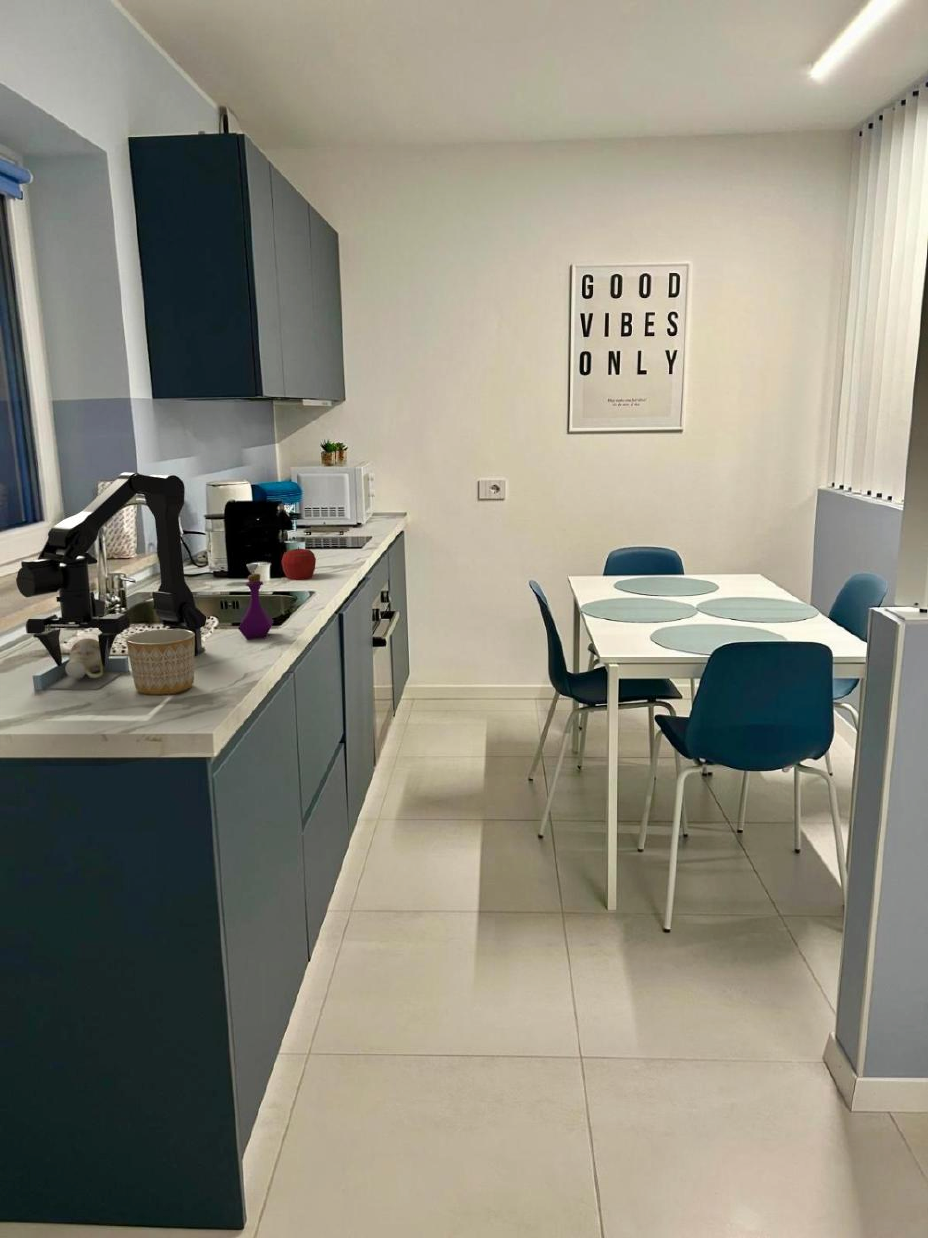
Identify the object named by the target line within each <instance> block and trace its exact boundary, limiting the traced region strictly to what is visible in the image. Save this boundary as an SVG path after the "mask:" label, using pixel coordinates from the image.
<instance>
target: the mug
mask: <svg viewBox="0 0 928 1238" xmlns="http://www.w3.org/2000/svg"><path fill="white" fill-rule="evenodd" d="M68 657H69V662H68V663H67V664H66V667H65V670H66V673H67V675H68V676H69V677H71V678H73V679H80V678H82V677H83V676H84V675H85V674H87V675H88V676H89V677H90V678H97V677H100V676H102V675H103V664H102V661H101V655H100V647H99V640H96V639H94V638H81V639H79V640H77V641H76V642H75V643H74V644H73V645H72V646H71V648H70V652H69V656H68ZM98 670H100V673H98V674H93V673H94V672H96V671H98Z"/></svg>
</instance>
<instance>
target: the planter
mask: <svg viewBox="0 0 928 1238" xmlns="http://www.w3.org/2000/svg"><path fill="white" fill-rule="evenodd" d="M125 640H126V646H127V647H126V648H127V652H128V656H129V657H128V659H129V662H130V668H131V673H132V677H133V679H132V680H133V683H134V684H133V685H134V687H135V689H136V690H137V691H138V692H139V693H140V694H144V695H150V696H162V695H163V696H164V695H170V694H171V695H172V694H178V693H181V692H184V691H186V690H188V689H190V688H191V687H192V686H193V684H194V682H195V656H194V648H195V634H194V632H192V631H189V630H183V629H168V628H165V629H164V628H163V629H162V628H161V629H153V630H146V631H145V630H144V631H141V632H136V633H133V634H131V635H129V636H127V637H126V639H125Z"/></svg>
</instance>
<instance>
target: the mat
mask: <svg viewBox="0 0 928 1238" xmlns="http://www.w3.org/2000/svg"><path fill="white" fill-rule="evenodd" d="M98 673H100V671H96V672H94V673H93V674H98ZM124 673H125V672H124V671H103V675H102V676H100V677H97V678H90V677H89V676H88V675H87V674H85V675H84V676H83V677H82V678H80V679H73V678H71V677H69V676H68V675H67V676H65V677H63V678H62V679H60V680H58V681H57V682H55V683H53V684H51V685H50V686H48V687H46V688H45V690H46V691H48V690H49V691H50V690H52V691H53V690H54V691H55V690H56V691H57V690H62V691H63V690H64V691H65V690H68V691H69V690H72V691H73V690H75V691H77V690H82V691H83V690H86V691H87V690H88V691H89V690H90V691H91V690H93V691H94V690H97V691H99V690H100V689H102V688H103V687H105V686H107V685H108V684H110V683H111V682H112V681H114V680H115V679H117V678H118V677H120V676H121V675H123V674H124Z"/></svg>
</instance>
